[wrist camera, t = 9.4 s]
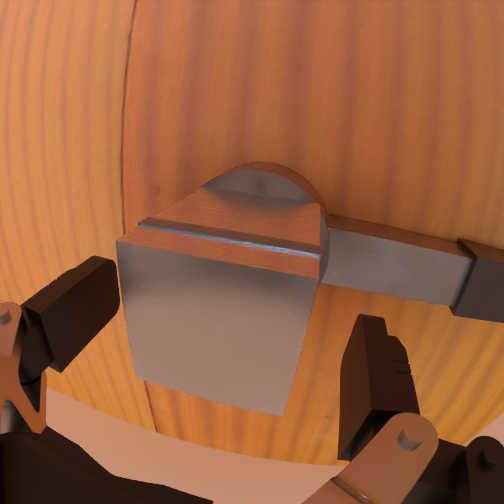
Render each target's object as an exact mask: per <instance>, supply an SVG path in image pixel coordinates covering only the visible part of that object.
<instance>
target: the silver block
mask: <svg viewBox="0 0 504 504" xmlns="http://www.w3.org/2000/svg"><path fill="white" fill-rule="evenodd" d="M116 248H117V259H118V269H119V278H120V286H121V294H122V301H123V308H124V315H125V321H126V327H127V333H128V339H129V344H130V349H131V355H132V360H133V364H134V369H135V374H136V377H137V378H140V379H143V380H145V381H148V382H151V383H154V384H157V385H160V386H163V387H166V388H170V389H173V390H176V391H179V392H182V393H186V394H189V395H193V396H196V397H200V398H203V399H207V400H211V401H215V402H219V403H223V404H227V405H231V406H235V407H239V408H244V409H248V410H253V411H258V412H262V413H268V414H273V415H278V416H283V413H284V410H285V407H286V403H287V400H288V397H289V393H290V390H291V386H292V383H293V379H294V376H295V372H296V369H297V365H298V361H299V358H300V354H301V350H302V346H303V343H304V339H305V335H306V331H307V327H308V323H309V319H310V315H311V311H312V306H313V302H314V298H315V294H316V289H317V285H318V280H319V266H320V261H321V256H322V246H320V204H316V203H311V202H305V201H299V200H293V199H286V198H280V197H274V196H267V195H260V194H254V193H247V192H239V191H232V190H225V189H217V188H209V187H202V188H200V189H199V190H197V191H195V192H193V193H192V194H190V195H188V196H187V197H185V198H183V199H181V200H180V201H178V202H176V203H175V204H173V205H171V206H170V207H168V208H167V209H165V210H163V211H162V212H160V213H158V214H157V215H155V216H154V217H152V218H150V217H148V218H146V219H144V220H143V221H141V222H139V223H138V227H136V228H135V229H133V230H131V231H130V232H128V233H127V234H125V235H124V236H122V237H121V238H119V239H118V240H116Z"/></svg>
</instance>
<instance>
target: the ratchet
mask: <svg viewBox="0 0 504 504" xmlns="http://www.w3.org/2000/svg"><path fill="white" fill-rule="evenodd" d="M202 187H209V188H217V189H225V190H232V191H239V192H247V193H254V194H260V195H267V196H274V197H280V198H286V199H293V200H299V201H305V202H311V203H316V204H320V246H322V256H321V261H320V266H319V280H318V285H319V284H320V283H323V284H328V285H334V286H339V287H345V288H350V289H355V290H361V291H366V292H372V293H377V294H383V295H389V296H394V297H400V298H406V299H411V300H417V301H423V302H429V303H435V304H441V305H446V306H449V308H450V310H451V311H452V313H453V315H454V316H460V317H467V318H473V319H480V320H487V321H494V322H501V323H504V250H501V249H497V248H494V247H490V246H487V245H483V244H480V243H476V242H472V241H468V240H465V239H461V238H459V239H458V243H456V242H452V241H448V240H444V239H440V238H436V237H431V236H427V235H423V234H419V233H414V232H410V231H406V230H401V229H397V228H392V227H388V226H383V225H379V224H374V223H369V222H365V221H360V220H355V219H350V218H345V217H340V216H335V215H330V214H326V210H325V207H324V205H323V202H322V200H321V198H320V196H319V195H318V193H317V192H316V190H315V189H314V188H313V187H312V185H311V184H310V183H309V182H308V181H307V180H306V179H304V178H303V177H302V176H300V175H299V174H298V173H296V172H294V171H292V170H291V169H289V168H286V167H283V166H281V165H277V164H272V163H264V162H258V163H249V164H244V165H241V166H238V167H235V168H233V169H231V170H229V171H227V172H225V173H223V174H222V175H220V176H218V177H216V178H214V179H212V180H211V181H209V182H207V183H206V184H205V185H203V186H202ZM202 187H200V188H202ZM200 188H199V189H200ZM199 189H198V190H199ZM318 285H317V287H318Z"/></svg>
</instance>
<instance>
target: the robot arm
mask: <svg viewBox="0 0 504 504" xmlns="http://www.w3.org/2000/svg"><path fill="white" fill-rule="evenodd" d="M119 305H120V295H119V287H118V278H117V269H116V264H115V262H114V261H113V260H110V259H107V258H103V257H99V256H92V257H90V258H89V259H87V260H86V261H84V262H83V263H82V264H80V265H79V266H77V267H76V268H73V269H71V270H68V271H66V272H65V273H63V274H62V275H61V276H59V277H58V278H57V280H56V279H55V280H54V281H52V282H51V283H50V284H49V286H48V285H47V286H46V287H44V288H43V289H41V290H40V291H39V292H37V293H36V294H35V295H33V296H32V297H31V298H30V299H28V300H27V301H26V302H24V303H23V304H22V305H20V306H19V305H18V304H17V303H14V302H4V303H0V504H213V501H212V500H208V499H205V498H201V497H198V496H195V495H191V494H188V493H185V492H182V491H179V490H176V489H173V488H171V487H168V486H165V485H159V484H153V483H147V482H141V481H136V480H131V479H126V478H122V477H117V476H114V475H112V474H111V473H109V472H108V471H107V470H106V469H105V468H103V467H102V466H101V465H100V464H98V462H96V461H95V460H94V459H93V458H92V457H90V455H89V454H88V453H86V452H85V451H84V450H83V449H82V448H81V447H80V446H79V445H77V444H76V443H74V442H72V441H71V440H69V439H67V438H66V437H64V436H62V435H60V434H59V433H57V432H56V431H54V430H53V429H51V428H50V427H48V426H47V424H46V387H47V375H46V372H45V369H46V368H47V367H48V366H49V367H51V368H52V369H54V370H56V371H58V372H60V373H61V372H62V371H63V370H64V369H65V368H66V367H67V366H68V365H69V364H70V363H71V361H72V360H73V359H74V358H75V357H76V356H77V355H78V354H79V353H80V352H81V351H82V350H83V349H84V347H85V346H86V345H87V344H88V343H89V342H90V341H91V340H92V339H93V338H94V337H95V336H96V335H97V334H98V333H99V332H100V330H101V329H102V328H103V327H104V326H105V325H106V324H107V323H108V322H109V321H110V320H111V319H112V318H113V317H114V316H115V315H116V313H117V311H118V309H119ZM408 362H409V361H408V357H407V353H406V349H405V347H404V346H403V345H402V343H401V342H400V341H399V340H398V338H397V337H395V336H389V335H388V333H387V329H386V324H385V320H384V318H382V317H376V316H370V315H364V314H359V315H358V317H357V319H356V322H355V325H354V327H353V330H352V333H351V336H350V338H349V341H348V344H347V346H346V349H345V352H344V355H343V358H342V363H341V370H340V420H339V442H338V459H337V460H347V461H350V463H349V464H348V465H347V466H346V467H345V468H344V469H343V470H342V471H341V472H340V473H339V474H338V475H337V476H335V477H333V478H331V479H330V480H329V481H328V482H326V483H325V484H324V485H323V486H322V487H321V488H319V489H318V490H317V491H316V492H315V493H314V494H313V495H311V496H310V497H309V498H308V499H307V500H305V501H304V502H303V503H302V504H504V447H503V445H502V444H501V443H500V442H499V441H497V440H496V439H494V438H492V437H489V436H480V437H477V438H475V439H474V440H473V441H471V443H470V444H469V445H468V446H467V447H464V446H461V445H458V444H454V443H451V442H448V441H444V440H442V439H439V438H438V434H437V431H436V429H435V427H434V426H433V424H432V423H431V422H430V421H429V420H427V419H426V418H424V417H423V416H421V415H420V411H419V406H418V401H417V396H416V391H415V387H414V382H413V378H412V375H411V369H410V365H409V364H408Z"/></svg>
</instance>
